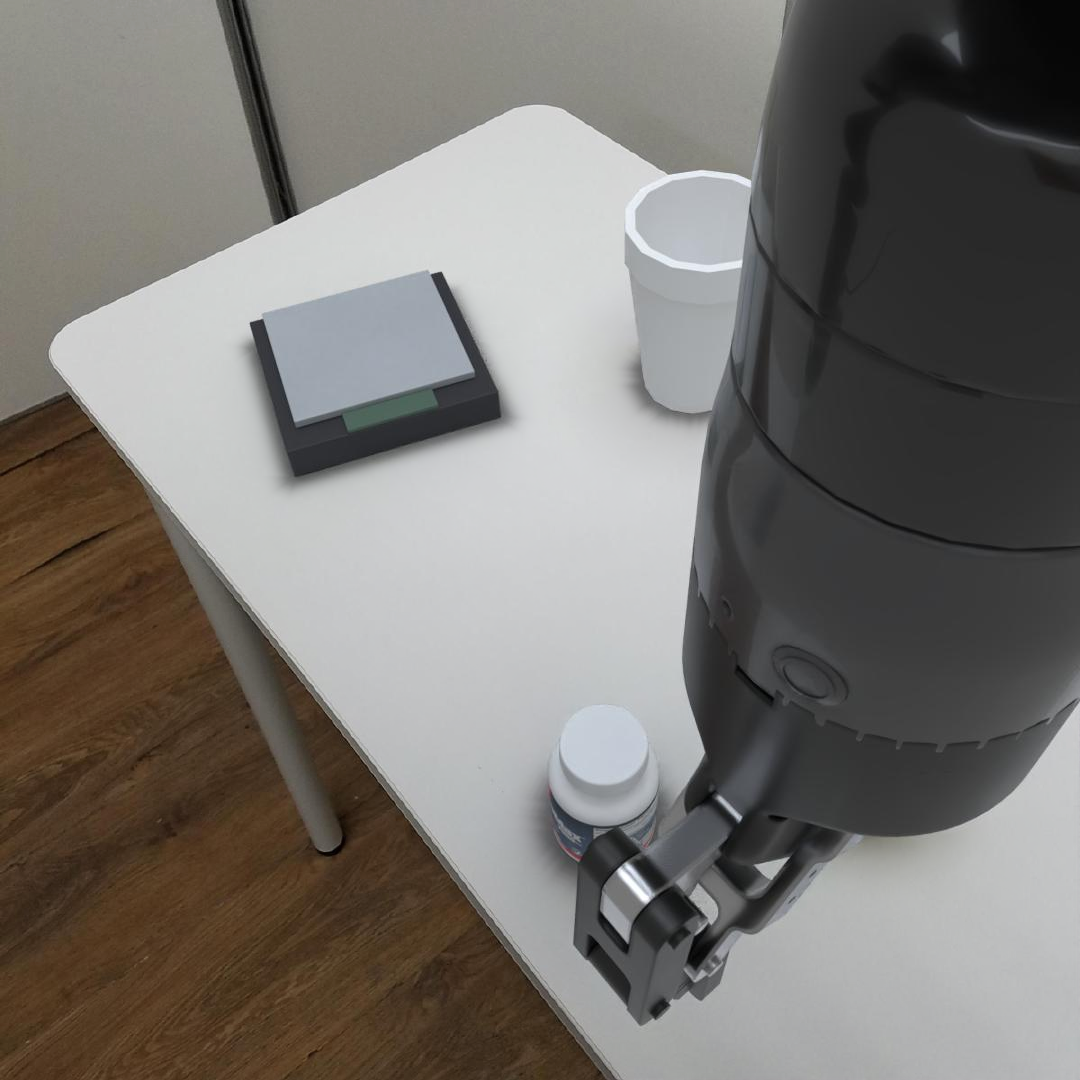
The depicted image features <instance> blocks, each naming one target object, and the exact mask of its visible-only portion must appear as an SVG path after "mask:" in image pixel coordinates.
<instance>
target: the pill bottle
mask: <svg viewBox="0 0 1080 1080" xmlns="http://www.w3.org/2000/svg"><path fill="white" fill-rule="evenodd" d="M547 762H548V763H547V771H546V772H547V773H546V774H547V787H548V795H549V803H550V815H551V817H550V819H551V824H552V830H553V833H554V835H555V838H556V840H557V842H558V843H559V845H560V846H561V848H562V849H563V851H564V852H565V853H566V854H567V855H568V856H569V857H570V858H572V859H573V860H575V861H576V862H578V863H579V861H580V859H581V857H582V856H583V854H584V853H585V851H586V849H587V847H588V845H589V844H590V843H591V842H592V841H593V840H594V839H595V838H596V837H597V836H599V835H601V834H604V833H606V832H607V831H609V830H611V829H613V828H616V827H620V828H621V829H622V830H623V831H624V832H625V834H626V835H627V836H628V837H629V838H636V840H637V841H638V842H639V843H640V844H641V845H642V846H643V847H644V848H645V849H646V848H647V847H648V846H649V845H650V842H651V841H652V838H653V836H654V833H655V828H656V825H657V823H656V822H657V813H658V803H659V802H658V801H659V791H660V790H659V789H660V783H661V781H660V779H661V778H660V776H661V774H660V773H661V771H660V770H661V769H660V764H659V759H658V756H657V753H656V751H655V749H654V748H653V746H652V744H651V742H650V741H649V738H648V734H647V731H646V729H645V726H644V725H643V723H642V722H641V721H640V720H639V718H637V716H636V715H635V714H633V713H632V712H630V711H629V710H628V709H625V708H623V707H621V706H618V705H614V704H607V703H606V704H605V703H601V704H600V703H599V704H593V705H589V706H586V707H584V708H581V709H580V710H578V711H577V712H575V713H574V714H573V715H571V717H570V718H569V719H568V720H567V721H566V723H565V724H564V726H563V727H562V730H561V732H560V735H559V738H557V741H556V742H555V744H553V747H552V749H551V752H550V754H549V758H548V760H547Z"/></svg>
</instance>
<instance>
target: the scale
mask: <svg viewBox="0 0 1080 1080" xmlns="http://www.w3.org/2000/svg"><path fill="white" fill-rule="evenodd" d="M261 317H262V318H261V319H257V320H253V321H250V322H249V327H250V330H251V334H252V338H253V341H254V345H255V349H256V351H257V355H258V359H259V362H260V365H261V368H262V372H263V376H264V379H265V383H266V386H267V389H268V394H269V397H270V400H271V404H272V407H273V410H274V414H275V417H276V420H277V425H278V428H279V431H280V436H281V439H282V442H283V445H284V448H285V453H286V455H287V458H288V461H289V463H290V468H291V469H292V473H293V475H294V477H300V476H304V475H306V474H310V473H313V472H317V471H320V470H325V469H327V468H331V467H334V466H338V465H341V464H344V463H348V462H351V461H354V460H355V461H356V460H358V459H362V458H365V457H369V456H371V455H376V454H378V453H379V454H380V453H382V452H386V451H390V450H392V449H396V448H400V447H403V446H406V445H410V444H413V443H416V442H420V441H424V440H427V439H430V438H433V437H437V436H441V435H444V434H447V433H448V434H449V433H451V432H454V431H457V430H461V429H464V428H468V427H471V426H474V425H477V424H478V425H479V424H481V423H485V422H488V421H491V420H495V419H499V418H501V417H502V412H501V403H500V393H499V390H498V388H497V386H496V384H495V381H494V379H493V377H492V375H491V373H490V371H489V369H488V366H487V364H486V363H485V359H484V358H483V356H482V354H481V352H480V349H479V347H478V345H477V343H476V341H475V338H474V337H473V335H472V332H471V330H470V328H469V326H468V324H467V322H466V320H465V318H464V315H463V313H462V311H461V309H460V308H459V305H458V303H457V301H456V298H455V296H454V294H453V292H452V289H451V288H450V286H449V284H448V281H447V279H446V276H445V275H444V273H443V271H437V272H433V273H430V271H429V269H425V270H421V271H417V272H414V273H410V274H406V275H403V276H402V275H401V276H398V277H395V278H390V279H387V280H383V281H380V282H376V283H372V284H368V285H365V286H361V287H357V288H352V289H349V290H346V291H342V292H337V293H333V294H331V295H327V296H323V297H319V298H316V299H312V300H308V301H305V302H300V303H297V304H293V305H290V306H285V307H281V308H278V309H273V310H271V311H267V312H262V313H261Z"/></svg>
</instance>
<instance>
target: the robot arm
mask: <svg viewBox="0 0 1080 1080" xmlns="http://www.w3.org/2000/svg"><path fill="white" fill-rule="evenodd" d="M783 30H784V31H783V34H782V37H781V41H780V45H779V48H778V51H777V55H776V59H775V63H774V66H773V70H772V75H771V78H770V81H769V86H768V90H767V94H766V99H765V103H764V106H763V111H762V116H761V120H760V124H759V125H760V127H759V130H758V136H757V137H758V138H757V143H756V148H755V154H754V159H753V167H752V173H751V176H750V177H751V178H750V180H751V197H750V204H749V212H748V220H747V228H746V236H745V244H744V252H743V260H742V268H741V277H740V285H739V293H738V301H737V309H736V317H735V325H734V331H733V336H732V341H731V347H730V352H729V356H728V359H727V363H726V366H725V370H724V373H723V376H722V379H721V382H720V385H719V388H718V391H717V394H716V397H715V400H714V404H713V407H712V411H710V415H709V418H708V423H707V430H706V434H705V435H706V436H705V441H704V447H703V451H702V457H701V458H702V460H701V465H700V476H699V486H698V495H697V502H696V514H695V522H694V523H695V524H694V533H693V543H692V552H691V562H690V570H689V582H688V588H687V598H686V609H685V617H684V627H683V635H682V649H681V650H682V652H681V663H682V675H683V680H684V681H683V682H684V686H685V690H686V695H687V699H688V704H689V706H690V709H691V712H692V716H693V719H694V722H695V725H696V729H697V731H698V734H699V737H700V740H701V743H702V747H703V750H704V754H703V756H702V759H701V760H700V762H699V763H698V766H697V767H696V768H695V771H694V772H693V774H692V775H691V777H690V779H689V780H688V782H687V783H686V785H685V786H684V787H683V789H682V790H681V792H680V793H679V795H678V796H677V797H676V799H675V800H674V802H673V804H672V805H671V806H670V807H669V809H668V811H667V812H666V813H665V815H664V816H663V818H662V819H661V820H660V822H659V824H658V826H657V839H656V840H654V841H653V842H652V843H650V844H648V846H647V847H646V848H644V847H643V846H642V845H641V844H640V843H639V842H638V841H637V840H636V838H629V837H628V836H627V835H626V834H625V832H624V831H623V830H622V829H621V828H620V827H616V828H613V829H611V830H609V831H607V832H606V833H604V834H601V835H599V836H597V837H596V838H595V839H594V840H593V841H592V842H591V843H590V844H589V845H588V847H587V849H586V851H585V853H584V854H583V856H582V857H581V859H580V861H579V862H578V865H577V877H576V879H577V880H576V893H575V908H574V909H575V910H574V924H573V941H572V944H573V946H574V948H575V949H576V950H577V951H578V952H579V954H580V955H581V956H582V958H583V959H584V960H585V961H589V963H590V964H591V965H592V967H594V969H595V970H596V971H597V973H598V974H599V975H600V976H601V978H602V979H604V981H605V982H606V983H607V985H608V986H609V987H610V989H612V991H613V993H615V994H616V995H617V997H618V998H619V999H620V1000H621V1002H622V1003H623V1004H624V1005H625V1007H626V1011H627V1013H629V1015H630V1016H631V1017H632V1018H633V1019H634V1020H635V1022H636V1023H637V1024H638V1026H640V1027H642V1026H644V1025H646V1024H648V1023H649V1022H650V1021H651V1020H654V1021H658V1020H660V1019H661V1018H662V1017H663V1016H664V1015H665V1014H666V1013H667V1012H668V1011H669V1010H670V1008H671V1007H672V1005H671V1003H670V1002H671V1001H672V1000H677V1001H679V1000H681V998H683V996H685V995H686V994H687V993H688V992H689V993H690V994H691V996H693V997H694V998H695V999H696V1000H697V1001H700V1002H702V1001H704V999H706V997H708V996H709V995H710V994H711V993H712V992H713V991H714V990H715V989H716V988H717V987H718V986H720V984H721V981H722V978H723V976H724V972H725V968H726V965H727V962H728V958H729V955H730V951H731V949H732V948H733V946H734V945H735V944H736V943H737V942H738V940H739V939H740V938H741V936H743V934H745V935H748V936H749V935H750V936H753V935H757V934H759V933H760V932H762V931H763V930H765V929H766V928H768V927H769V926H771V925H772V924H774V923H775V922H777V921H779V920H780V919H781V918H783V917H785V916H786V915H787V914H788V912H790V910H791V909H792V907H794V905H795V904H796V903H797V901H798V900H799V899H800V898H801V897H802V895H803V894H804V893H805V891H806V890H807V889H808V888H809V887H810V885H811V884H812V883H813V881H814V880H816V878H817V877H818V876H819V874H820V873H821V872H822V870H823V869H825V867H826V865H827V864H828V863H830V862H832V861H833V860H834V859H835V860H836V859H837V858H838V857H840V856H841V855H842V854H844V853H846V852H847V851H849V850H851V849H852V848H854V847H856V846H857V845H858V844H859V843H860V842H861V841H862V840H863V838H864V837H874V838H906V837H917V836H924V835H929V834H931V835H932V834H935V833H939V832H943V831H946V830H947V831H948V830H949V829H953V828H955V827H959V826H961V825H963V824H966V823H969V822H971V821H973V820H975V819H977V818H978V817H981V816H982V815H984V814H985V813H987V812H989V811H991V810H992V809H994V808H995V807H996V806H998V805H999V804H1000V803H1002V802H1003V801H1004V800H1006V798H1007V797H1009V796H1010V795H1011V794H1012V793H1014V791H1015V790H1016V789H1017V788H1018V787H1019V786H1020V785H1021V784H1022V783H1023V781H1025V779H1026V777H1027V776H1028V775H1029V774H1030V772H1031V771H1032V770H1033V768H1034V767H1035V765H1036V764H1037V762H1038V761H1039V760H1040V758H1041V757H1042V756H1043V754H1044V753H1045V751H1046V750H1047V749H1048V747H1049V746H1050V744H1051V743H1052V742H1053V740H1054V738H1055V737H1056V736H1057V734H1058V733H1059V732H1060V730H1061V728H1062V727H1063V726H1064V725H1065V723H1066V722H1067V721H1068V719H1069V718H1070V716H1071V715H1072V713H1073V712H1074V711H1075V709H1076V708H1077V706H1078V705H1079V704H1080V0H793V2H792V6H791V9H790V12H789V15H788V17H787V21H786V24H785V27H784V29H783ZM786 858H787V860H786V861H785V863H784V864H783V865H782V866H781V867H780V868H779V870H778V872H776V874H775V875H774V876H773V878H772V879H770V878H769V877H767V876H766V875H764V873H762V872H761V871H760V870H759V869H758V868H757V867H756V866H757V865H760V864H764V863H770V862H774V861H778V860H782V859H783V860H784V859H786ZM755 865H756V866H755ZM698 885H699V886H700V887H701V889H703V891H704V892H705V893H706V894H707V895H708V896H709V897H710V898H711V899H712V900H713V902H714V904H716V907H717V917H716V918H715V920H714V921H713V922H712V924H711V923H710V922H709V917H708V916H707V915H706V914H705V913H704V912H703V911H702V910H701V909H700V907H698V905H697V904H696V903H695V902H694V901H693V900H692V899H691V897H690V896H691V895H692V894H693V892H694V891H695V889H696V887H697V886H698Z"/></svg>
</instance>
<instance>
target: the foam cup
mask: <svg viewBox="0 0 1080 1080" xmlns="http://www.w3.org/2000/svg"><path fill="white" fill-rule="evenodd" d="M750 197H751V179H748V178H746V177H744V176H742V175H739V174H737V173H730V172H729V173H728V172H722V171H721V172H720V171H712V170H706V169H705V170H704V169H700V170H692V171H686V172H685V171H684V172H679V173H678V172H677V173H673V174H667V175H665V176H663V177H661V178H659V179H657V180H655V181H653V182H651V183H648V184H647V185H645V186H643V187H640V189H639V190H638V191H637V193H636V194H635V195H634V196H633V198H631V200H630V202H628V204H627V205H626V206H625V208H624V265H625V266H626V268H627V269H628V275H629V281H630V290H631V296H632V305H633V311H634V312H633V313H634V318H635V319H634V320H635V326H636V327H635V328H636V333H637V342H638V349H639V356H640V363H641V370H642V371H641V372H642V378H643V381H644V388H645V390H647V392H648V394H649V395H650V396H651V398H652V400H653V401H654V402H656V403H658V404H660V405H661V406H663V407H665V408H667V409H668V410H671V411H675V412H681V413H686V414H692V415H693V414H699V413H706V412H711V411H712V407H713V404H714V400H715V397H716V394H717V391H718V388H719V385H720V382H721V379H722V376H723V373H724V370H725V366H726V363H727V359H728V356H729V352H730V347H731V341H732V336H733V331H734V325H735V317H736V309H737V301H738V293H739V285H740V277H741V268H742V260H743V252H744V244H745V236H746V228H747V220H748V212H749V204H750Z"/></svg>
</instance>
